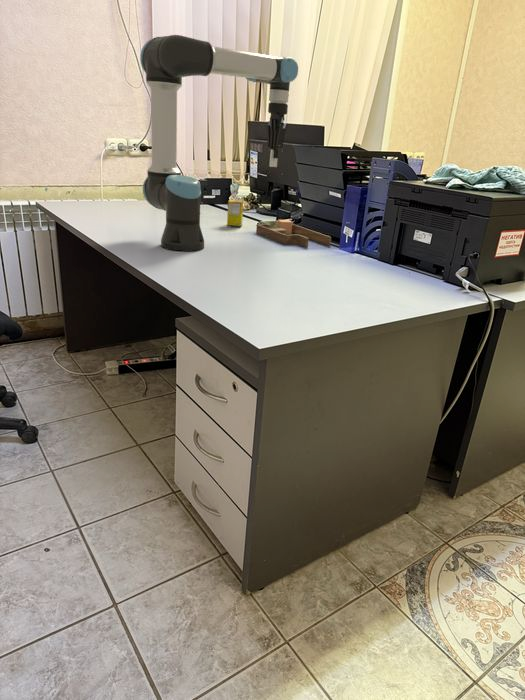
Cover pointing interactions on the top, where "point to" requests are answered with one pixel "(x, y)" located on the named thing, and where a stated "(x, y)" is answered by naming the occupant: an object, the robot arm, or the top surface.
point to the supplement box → (235, 213)
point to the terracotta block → (285, 225)
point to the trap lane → (300, 236)
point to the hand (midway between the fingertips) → (273, 166)
